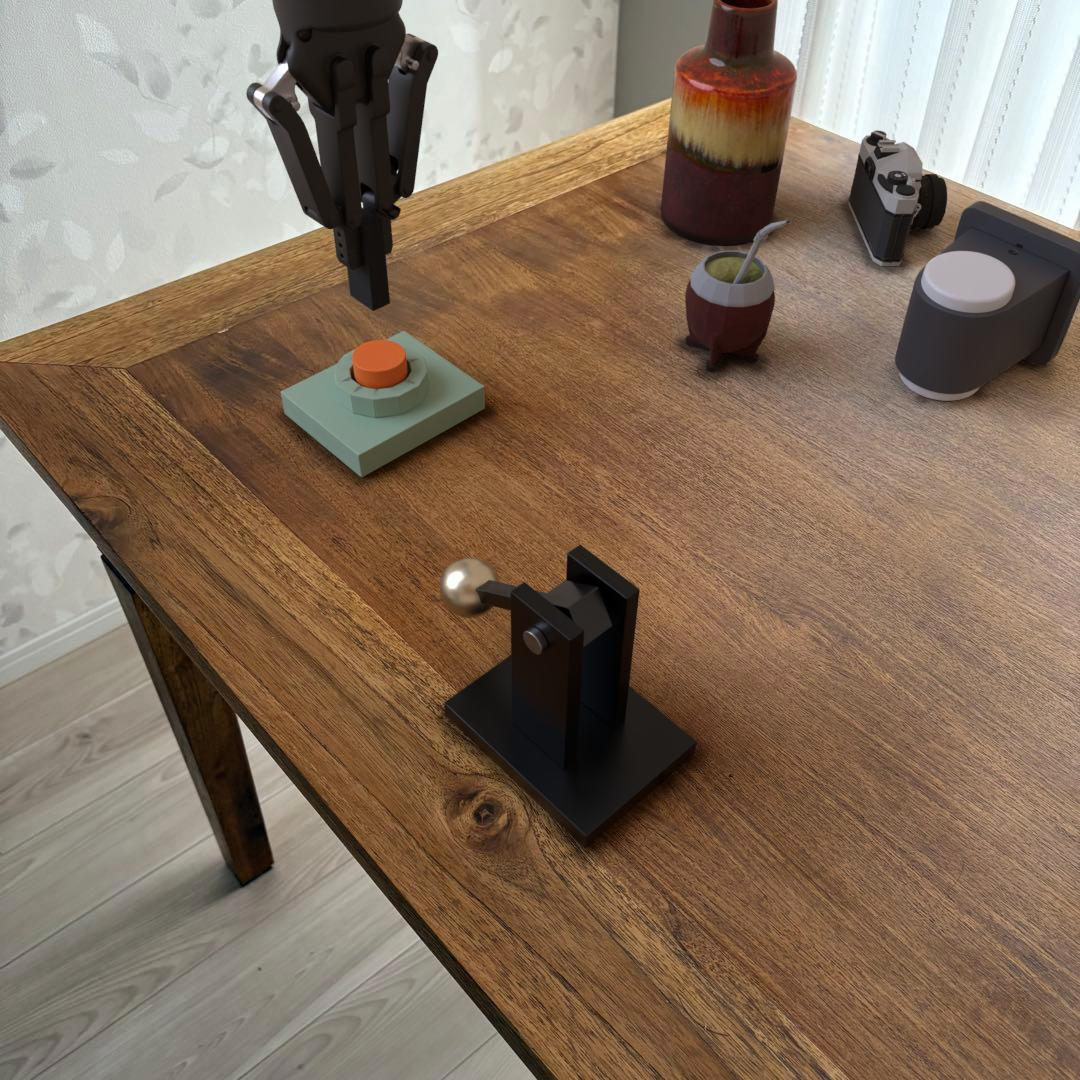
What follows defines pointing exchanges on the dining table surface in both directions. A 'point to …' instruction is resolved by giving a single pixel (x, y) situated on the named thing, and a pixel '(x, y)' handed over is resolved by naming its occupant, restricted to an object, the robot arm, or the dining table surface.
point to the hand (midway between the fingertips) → (370, 299)
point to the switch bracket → (572, 709)
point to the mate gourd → (731, 303)
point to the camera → (893, 197)
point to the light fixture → (988, 304)
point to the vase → (728, 127)
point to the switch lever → (478, 590)
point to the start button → (379, 364)
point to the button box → (383, 407)
